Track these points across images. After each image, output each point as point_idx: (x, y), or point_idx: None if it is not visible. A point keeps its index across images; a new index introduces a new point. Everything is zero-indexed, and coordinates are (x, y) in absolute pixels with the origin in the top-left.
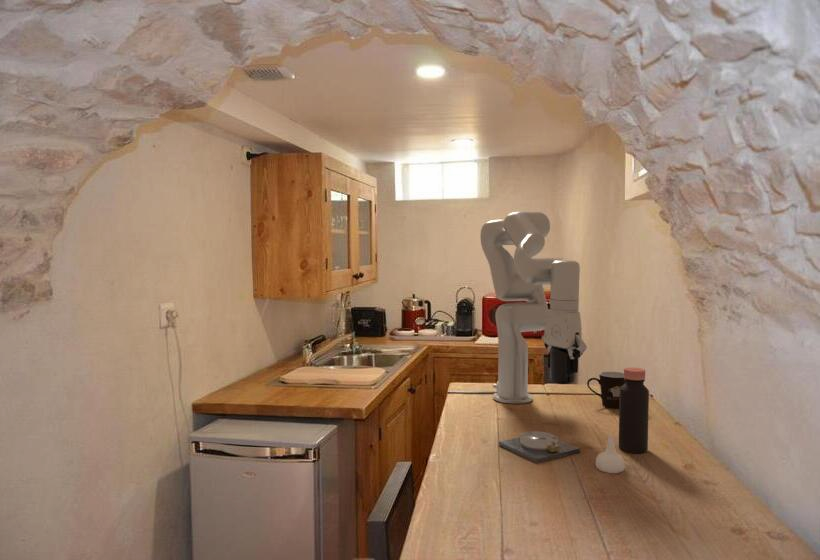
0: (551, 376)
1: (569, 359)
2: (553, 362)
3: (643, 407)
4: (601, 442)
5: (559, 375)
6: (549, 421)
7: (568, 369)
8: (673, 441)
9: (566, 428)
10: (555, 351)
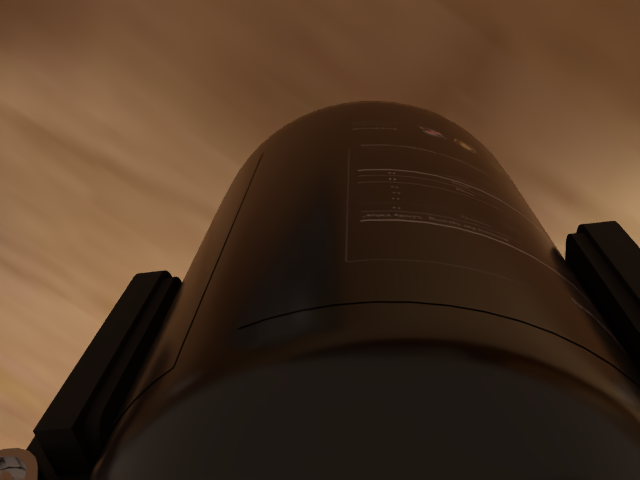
0: (396, 115)
1: (36, 426)
2: (350, 206)
3: None
4: (52, 143)
5: (252, 168)
6: (502, 101)
7: (135, 299)
8: (16, 423)
9: None
10: (297, 406)
